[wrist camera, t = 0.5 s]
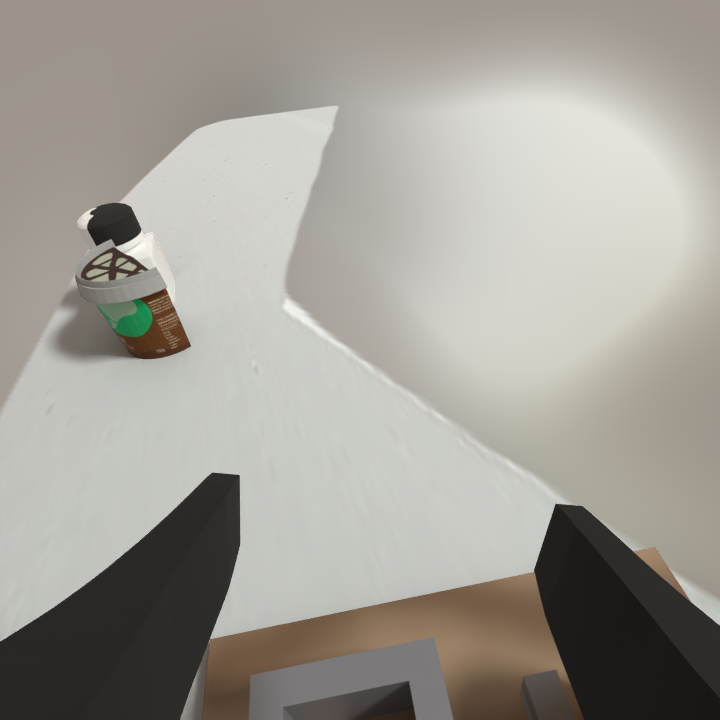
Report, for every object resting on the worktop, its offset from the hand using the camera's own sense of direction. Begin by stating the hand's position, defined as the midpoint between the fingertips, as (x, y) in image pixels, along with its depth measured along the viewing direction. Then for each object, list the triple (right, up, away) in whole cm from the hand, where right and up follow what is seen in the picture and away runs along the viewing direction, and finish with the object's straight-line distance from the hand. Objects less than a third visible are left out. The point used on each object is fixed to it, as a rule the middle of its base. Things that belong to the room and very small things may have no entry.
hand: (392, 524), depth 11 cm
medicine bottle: (-28, +11, +50) cm, 59 cm away
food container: (-24, +5, +43) cm, 49 cm away
